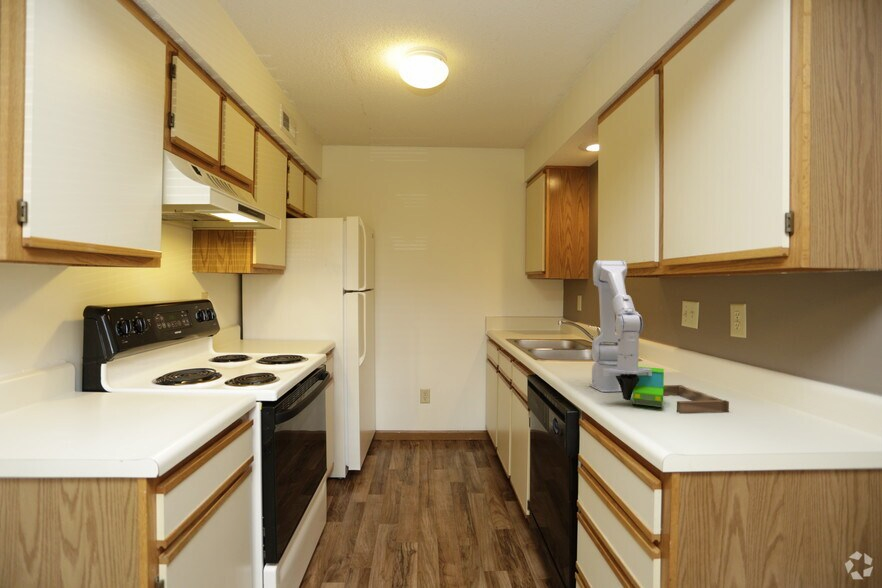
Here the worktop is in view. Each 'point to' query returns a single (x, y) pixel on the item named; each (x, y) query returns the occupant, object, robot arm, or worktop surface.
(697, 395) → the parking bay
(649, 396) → the toy car
